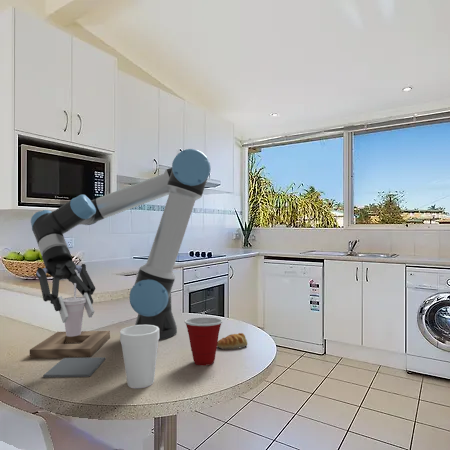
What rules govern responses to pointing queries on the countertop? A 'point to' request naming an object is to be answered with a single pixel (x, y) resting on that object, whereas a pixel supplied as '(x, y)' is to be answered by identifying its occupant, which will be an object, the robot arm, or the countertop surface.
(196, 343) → the plastic cup
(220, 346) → the pastry
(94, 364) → the rubber mat
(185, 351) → the countertop surface
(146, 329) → the foam cup
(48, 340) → the holder block
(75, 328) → the smoothie
